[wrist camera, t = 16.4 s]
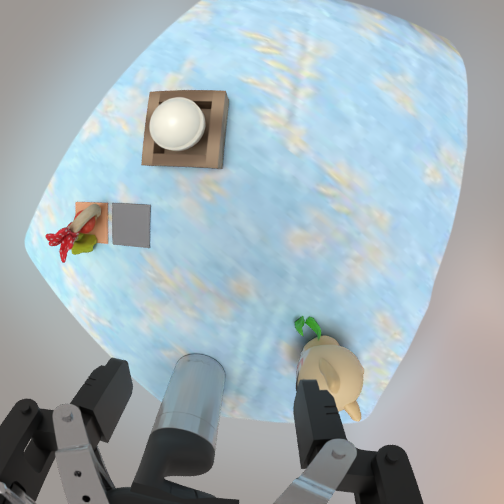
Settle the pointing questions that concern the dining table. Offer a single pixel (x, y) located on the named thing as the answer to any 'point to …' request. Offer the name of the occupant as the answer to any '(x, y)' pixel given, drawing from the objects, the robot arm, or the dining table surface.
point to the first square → (131, 224)
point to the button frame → (211, 142)
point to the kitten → (331, 369)
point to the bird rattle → (77, 233)
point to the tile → (97, 221)
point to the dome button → (177, 124)
